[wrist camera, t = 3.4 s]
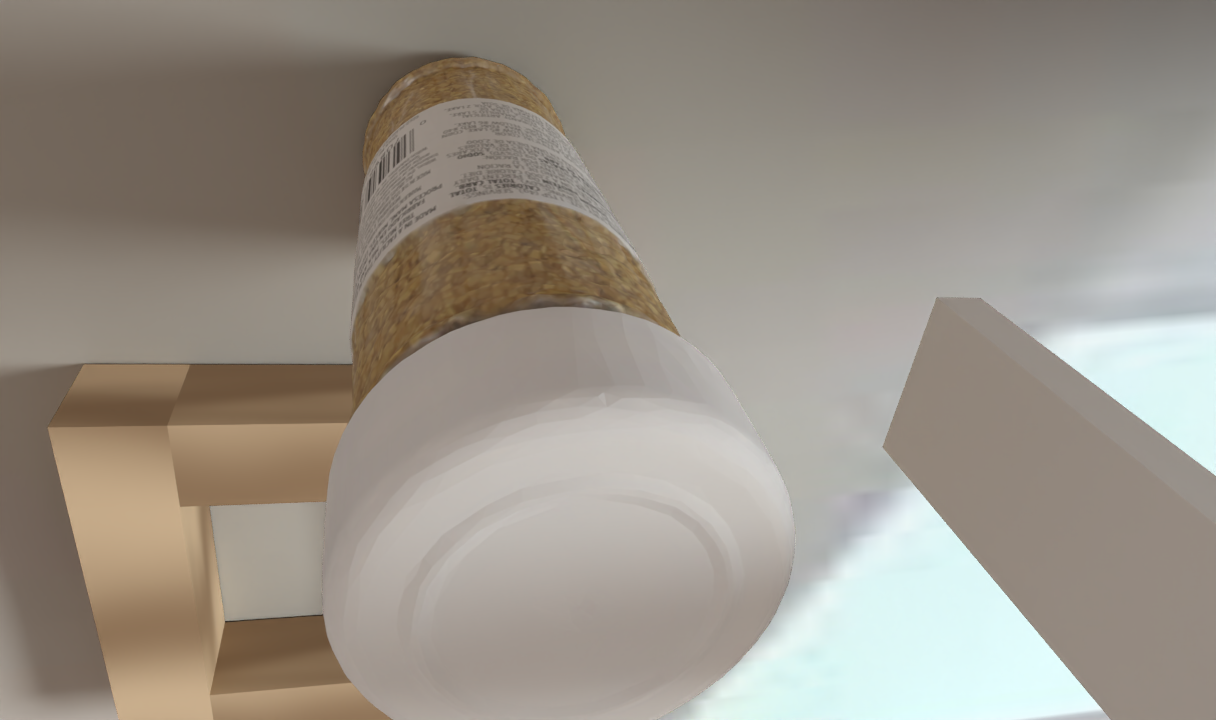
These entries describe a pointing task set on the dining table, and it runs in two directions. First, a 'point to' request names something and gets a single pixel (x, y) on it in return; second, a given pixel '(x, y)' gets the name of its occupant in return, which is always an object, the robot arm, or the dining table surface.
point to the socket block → (198, 531)
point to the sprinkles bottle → (530, 438)
